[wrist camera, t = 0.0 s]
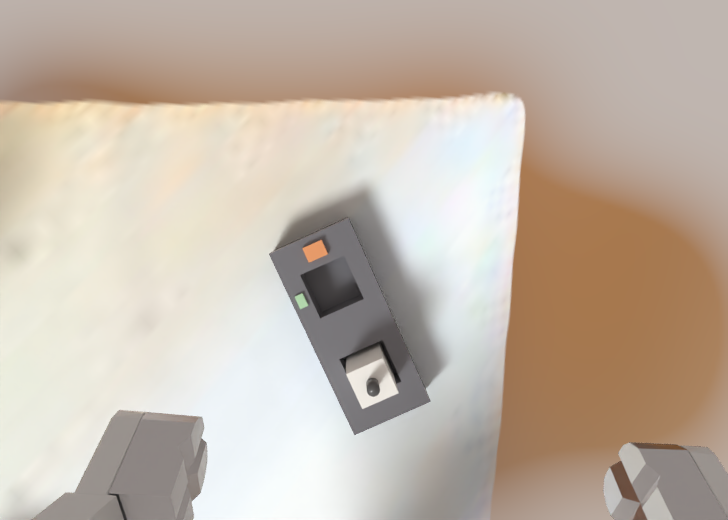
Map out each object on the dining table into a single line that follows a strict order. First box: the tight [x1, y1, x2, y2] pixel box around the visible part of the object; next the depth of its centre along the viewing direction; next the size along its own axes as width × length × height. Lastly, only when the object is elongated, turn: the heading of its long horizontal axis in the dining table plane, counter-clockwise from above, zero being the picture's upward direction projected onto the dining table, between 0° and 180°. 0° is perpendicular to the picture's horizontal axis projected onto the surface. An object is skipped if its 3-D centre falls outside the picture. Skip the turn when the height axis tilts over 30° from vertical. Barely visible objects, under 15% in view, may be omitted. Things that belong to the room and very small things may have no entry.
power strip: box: [269, 218, 430, 435], centre depth 63 cm, size 24×10×5 cm, turn 24°
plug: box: [346, 342, 399, 409], centre depth 60 cm, size 4×4×10 cm
